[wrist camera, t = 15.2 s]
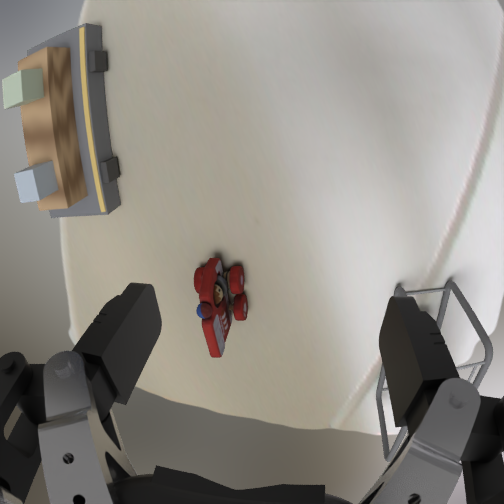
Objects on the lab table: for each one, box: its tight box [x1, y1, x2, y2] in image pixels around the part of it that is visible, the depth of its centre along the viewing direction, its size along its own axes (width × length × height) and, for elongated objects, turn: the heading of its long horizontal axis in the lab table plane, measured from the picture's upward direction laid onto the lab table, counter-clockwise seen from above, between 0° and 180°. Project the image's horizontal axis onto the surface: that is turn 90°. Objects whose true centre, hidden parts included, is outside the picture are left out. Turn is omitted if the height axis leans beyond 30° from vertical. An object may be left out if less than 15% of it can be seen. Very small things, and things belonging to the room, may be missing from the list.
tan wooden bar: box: [18, 47, 88, 211], centre depth 33 cm, size 22×6×5 cm, turn 3°
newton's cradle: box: [376, 281, 493, 462], centre depth 43 cm, size 30×10×18 cm, turn 9°
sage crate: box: [2, 68, 44, 109], centre depth 26 cm, size 4×4×4 cm
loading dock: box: [27, 23, 121, 218], centre depth 37 cm, size 28×13×4 cm, turn 3°
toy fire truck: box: [194, 258, 248, 358], centre depth 45 cm, size 7×12×10 cm, turn 6°
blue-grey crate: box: [14, 161, 59, 203], centre depth 32 cm, size 4×4×4 cm
